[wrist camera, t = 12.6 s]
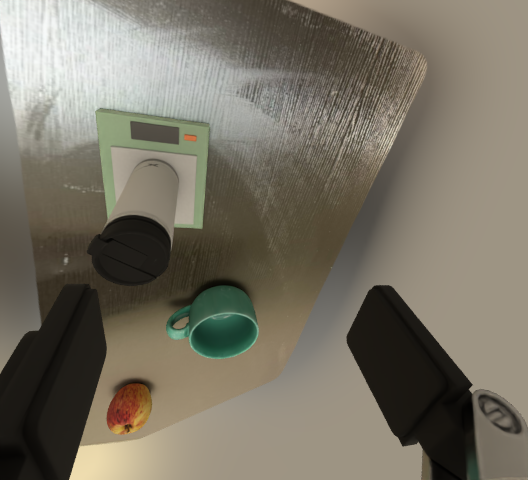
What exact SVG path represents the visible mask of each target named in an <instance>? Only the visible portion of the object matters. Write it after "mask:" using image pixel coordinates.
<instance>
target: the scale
mask: <svg viewBox="0 0 528 480" xmlns="http://www.w3.org/2000/svg"><path fill="white" fill-rule="evenodd" d="M95 113H96V122H97V130H98V139H99V148H100V156H101V165H102V173H103V182H104V191H105V199H106V208H107V216H108V219H109V217H110V215H111V213H112V211H113V209H114V207H115V205H116V203H117V201H118V199H119V197H120V195H121V193H122V192H123V190H124V188H125V186H126V184H127V182H128V180H129V178H130V176H131V174H132V172H133V170H134V168H135V167H136V166H137V165H138V164H139V163H140V162H142V161H144V160H147V159H159V160H162V161H165V162H166V163H168V164H169V165H171V166H172V167H173V168H174V170H175V171H176V173H177V175H178V178H179V187H178V196H177V205H176V214H175V223H174V227H183V228H202V226H203V213H204V199H205V186H206V172H207V159H208V145H209V132H210V127H209V124H205V123H198V122H191V121H184V120H177V119H170V118H163V117H156V116H149V115H142V114H135V113H129V112H122V111H115V110H108V109H101V108H100V109H98V110H97V111H95Z"/></svg>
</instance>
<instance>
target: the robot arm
mask: <svg viewBox="0 0 528 480" xmlns="http://www.w3.org/2000/svg"><path fill="white" fill-rule="evenodd" d="M347 344H348V346H349V348H350V350H351V352H352V354H353V356H354V358H355V360H356V362H357V364H358V366H359V368H360V370H361V372H362V374H363V376H364V378H365V380H366V382H367V384H368V386H369V388H370V390H371V392H372V393H373V396H374V397H375V399H376V401H377V403H378V405H379V407H380V409H381V411H382V413H383V415H384V417H385V419H386V421H387V423H388V425H389V427H390V429H391V431H392V432H393V434H394V435H395V436H397V437H398V438H399V440H400V442H401V444H402V446H408V445H414V444H417V443H418V442H419V443H420V445H421V446H422V448H423V456H422V479H421V480H528V427H527V425H526V422H525V420H524V419H523V417H522V416H521V414H520V413H519V412H518V411H517V410H516V409H515V407H514V406H513V405H512V404H510V403H509V402H508V401H507V400H505V399H504V398H502V397H501V396H499V395H498V394H496V393H493V392H491V391H489V390H484V389H479V390H476V391H475V392H474V393H473V394H472V393H471V392H470V391H469V388H470V387H471V386H472V383H471V382H470V381H469V380H468V378H467V377H466V376H465V375H464V374H463V372H462V371H461V370H460V369H459V368H458V366H457V365H456V364H455V363H454V362H453V360H452V359H451V358H450V357H449V355H448V354H447V353H446V352H445V350H444V349H443V348H442V347H441V346H440V345H439V343H438V342H437V341H436V339H435V338H434V337H433V336H432V335H431V333H430V332H429V331H428V330H427V329H426V327H425V326H424V325H423V324H422V322H421V321H420V320H419V319H418V318H417V317H416V315H415V314H414V313H413V311H412V310H411V309H410V308H409V307H408V305H407V304H406V303H405V302H404V301H403V299H402V298H401V297H400V296H399V294H398V293H397V292H396V291H395V290H394V288H392V287H391V286H389V285H376V286H374V287H373V288H372V289H371V290H369V291H368V294H367V295H366V298H365V299H364V302H363V304H362V306H361V308H360V310H359V312H358V314H357V316H356V318H355V320H354V322H353V324H352V326H351V328H350V331H349V332H348V334H347ZM106 351H107V346H106V340H105V334H104V328H103V322H102V317H101V311H100V305H99V299H98V293H97V290H96V289H91V288H90V285H89V284H66V285H65V286H64V287H63V289H62V290H61V292H60V294H59V296H58V297H57V299H56V301H55V303H54V305H53V306H52V308H51V310H50V312H49V313H48V315H47V317H46V319H45V321H44V322H43V324H42V326H41V328H40V329H39V331H29V332H28V333H26V334H25V335H24V336H23V338H22V339H21V340H20V342H19V344H18V346H17V347H16V349H15V350H14V352H13V354H12V355H11V357H10V359H9V360H8V362H7V364H6V365H5V367H4V368H3V370H2V372H1V374H0V480H69V478H70V475H71V472H72V468H73V464H74V462H75V458H76V455H77V452H78V448H79V445H80V441H81V438H82V435H83V431H84V428H85V425H86V421H87V418H88V415H89V411H90V408H91V405H92V401H93V398H94V395H95V391H96V388H97V384H98V381H99V378H100V374H101V371H102V368H103V364H104V361H105V357H106Z"/></svg>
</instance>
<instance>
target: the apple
mask: <svg viewBox="0 0 528 480" xmlns="http://www.w3.org/2000/svg"><path fill="white" fill-rule="evenodd" d="M151 408H152V399H151V395H150V393H149V390H148V388H147V387H146V386H145V385H143V384H139V383H133V384H129V385H126V386H124V387H123V388H121V389H120V390H119V391H118V392H117V394H116V395H115V396H114V398H113V399H112V401H111V403H110V405H109V408H108V412H107V424H108V427H109V429H110V430H111V431H112V432H113V433H115V434H128V433H132V432H135V431H137V430H139V429H140V428H141V427H143V425H144V424H145V423H146V421H147V419H148V417H149V415H150V412H151Z"/></svg>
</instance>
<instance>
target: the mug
mask: <svg viewBox="0 0 528 480" xmlns="http://www.w3.org/2000/svg"><path fill="white" fill-rule="evenodd" d="M187 316H189V323H187V324H186V326H185V327H184V328H182V329H175V328H173V327H172V326H173V325H174V324H175V323H176V322H177V321H178V320H180V319H182V318H184V317H187ZM166 331H167V334H168V335H169V337H170V338H172V339H175V340H179V339H183V338H186V337H188V336H189V343H190V346H191V347H192V349H193V350H194V351H195V352H197V353H198V354H200V355H202V356H204V357H208V358H214V359H224V358H230V357H233V356H236V355H239V354H241V353H243V352H245V351H246V350H248V349H249V348H250V347H251V346H252V345H253V344H254V343H255V341H256V340H257V337H258V333H259V329H258V323H257V319H256V315H255V311H254V308H253V305H252V302H251V300H250V298H249V297H248V296H247V294H246V293H244V292H243V291H242V290H240V289H238V288H236V287H233V286H226V285H222V286H215V287H212V288H209V289H207V290H205V291H203V292H202V293H201V294H199V295H198V296H197V297H196V299H195V300H194V302H193V303H192V305H188V306H186V307H183V308H181V309H180V310H178V311H176V312H175V313H174V314H173V315H172V316H171V317H170V318H169V320H168V321H167V325H166Z"/></svg>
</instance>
